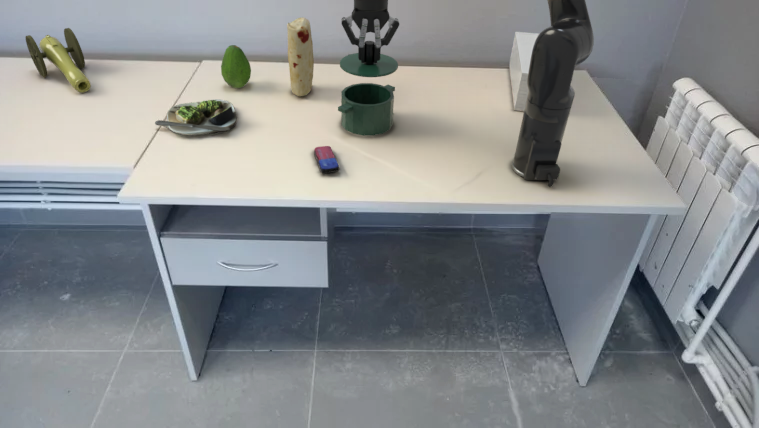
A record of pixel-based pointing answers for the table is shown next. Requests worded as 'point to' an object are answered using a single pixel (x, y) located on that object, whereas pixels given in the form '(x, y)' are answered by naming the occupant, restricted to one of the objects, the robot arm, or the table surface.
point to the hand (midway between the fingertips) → (369, 61)
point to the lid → (369, 63)
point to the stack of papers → (521, 67)
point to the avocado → (235, 67)
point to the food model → (300, 56)
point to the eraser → (326, 159)
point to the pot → (367, 108)
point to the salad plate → (200, 117)
